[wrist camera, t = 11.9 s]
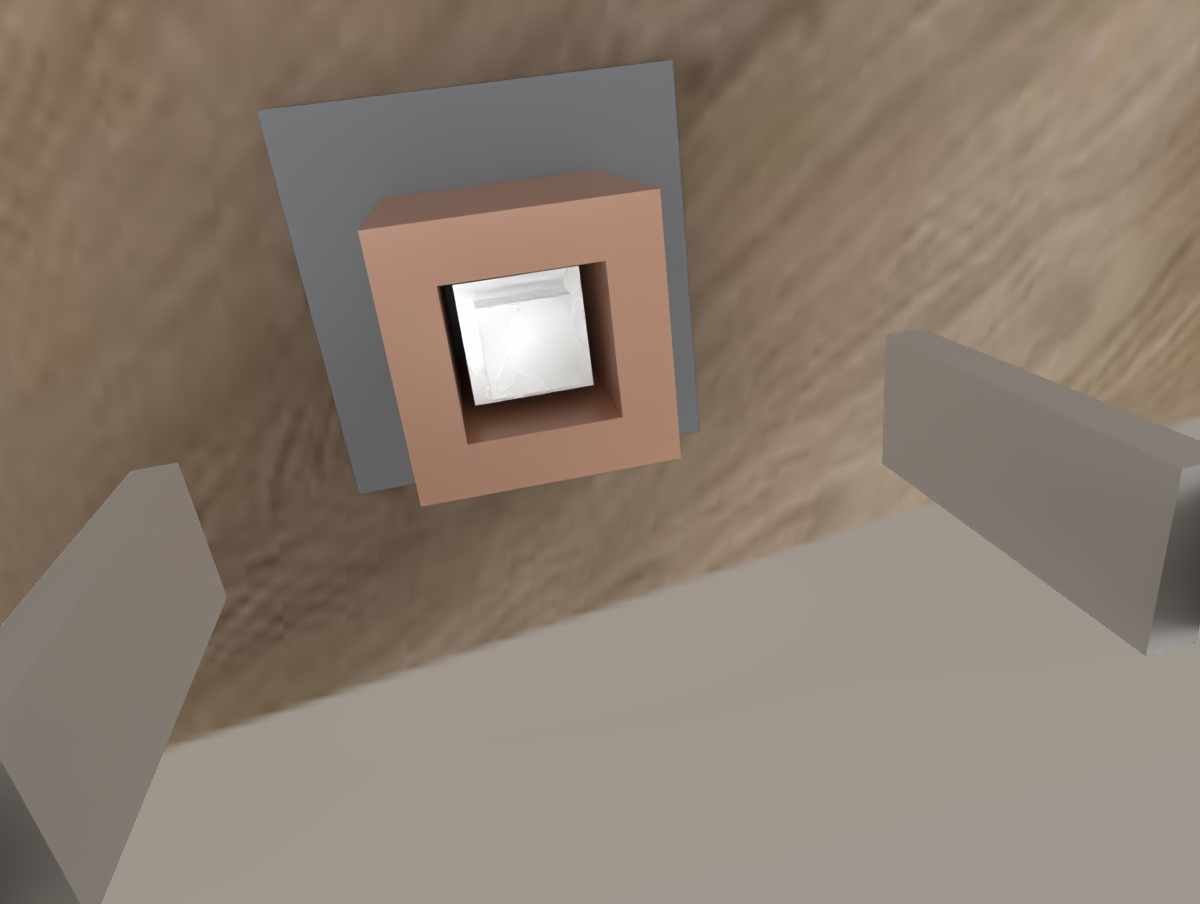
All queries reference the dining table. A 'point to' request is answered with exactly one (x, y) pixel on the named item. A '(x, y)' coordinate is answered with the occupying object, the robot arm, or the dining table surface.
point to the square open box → (514, 246)
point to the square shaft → (524, 334)
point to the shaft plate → (447, 161)
